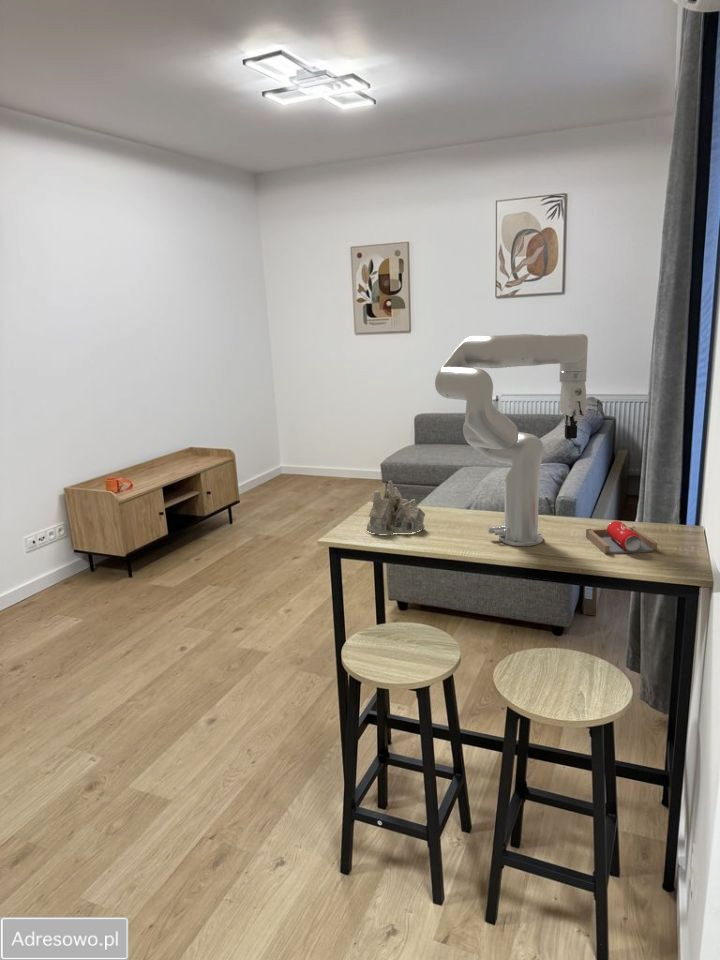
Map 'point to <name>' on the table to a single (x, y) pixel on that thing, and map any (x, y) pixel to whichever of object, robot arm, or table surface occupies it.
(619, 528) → the beverage can
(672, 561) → the table surface
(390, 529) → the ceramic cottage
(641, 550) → the tray
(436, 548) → the table surface
